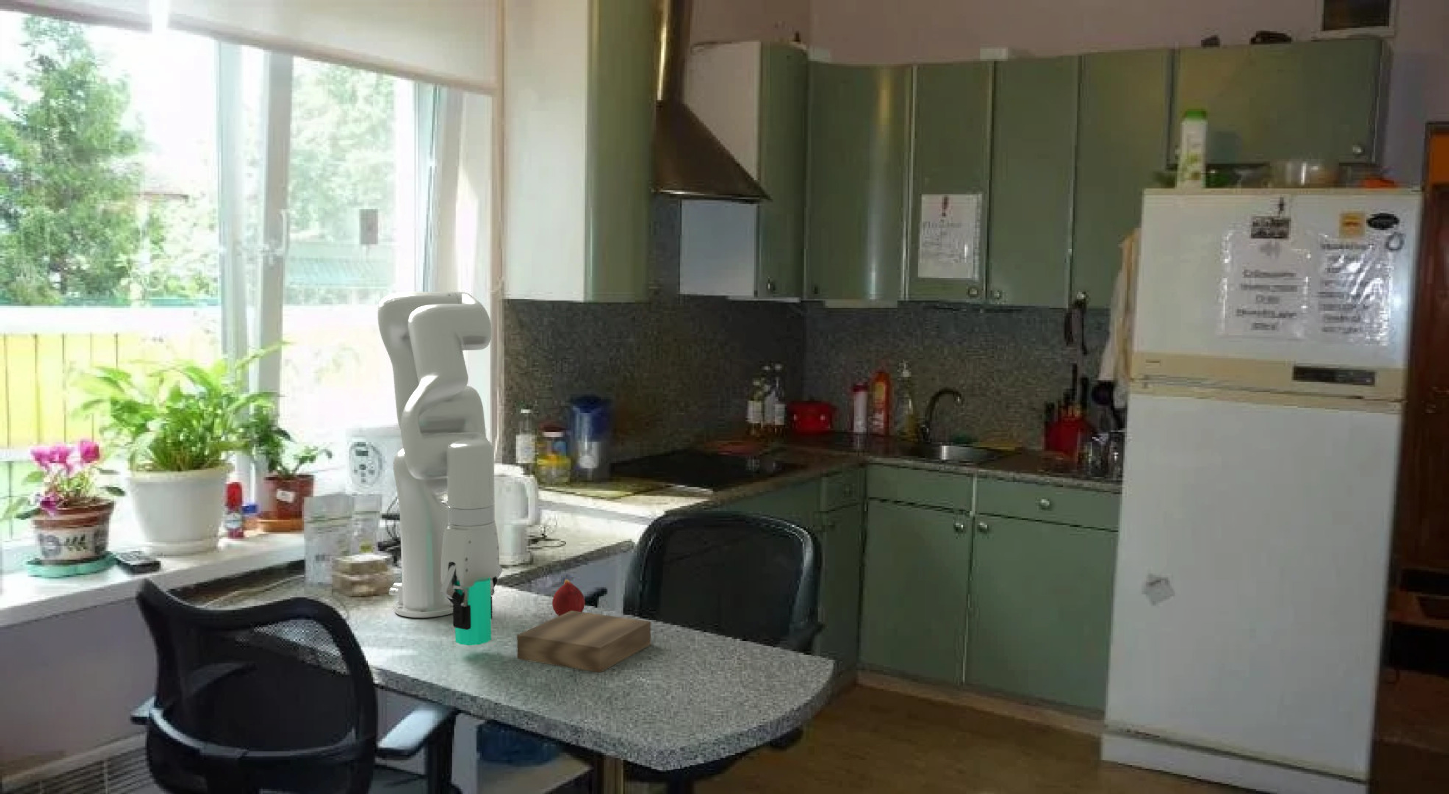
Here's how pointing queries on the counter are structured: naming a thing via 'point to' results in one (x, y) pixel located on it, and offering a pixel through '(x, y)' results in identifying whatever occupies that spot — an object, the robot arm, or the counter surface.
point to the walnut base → (584, 640)
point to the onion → (568, 599)
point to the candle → (477, 615)
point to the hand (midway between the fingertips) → (473, 622)
